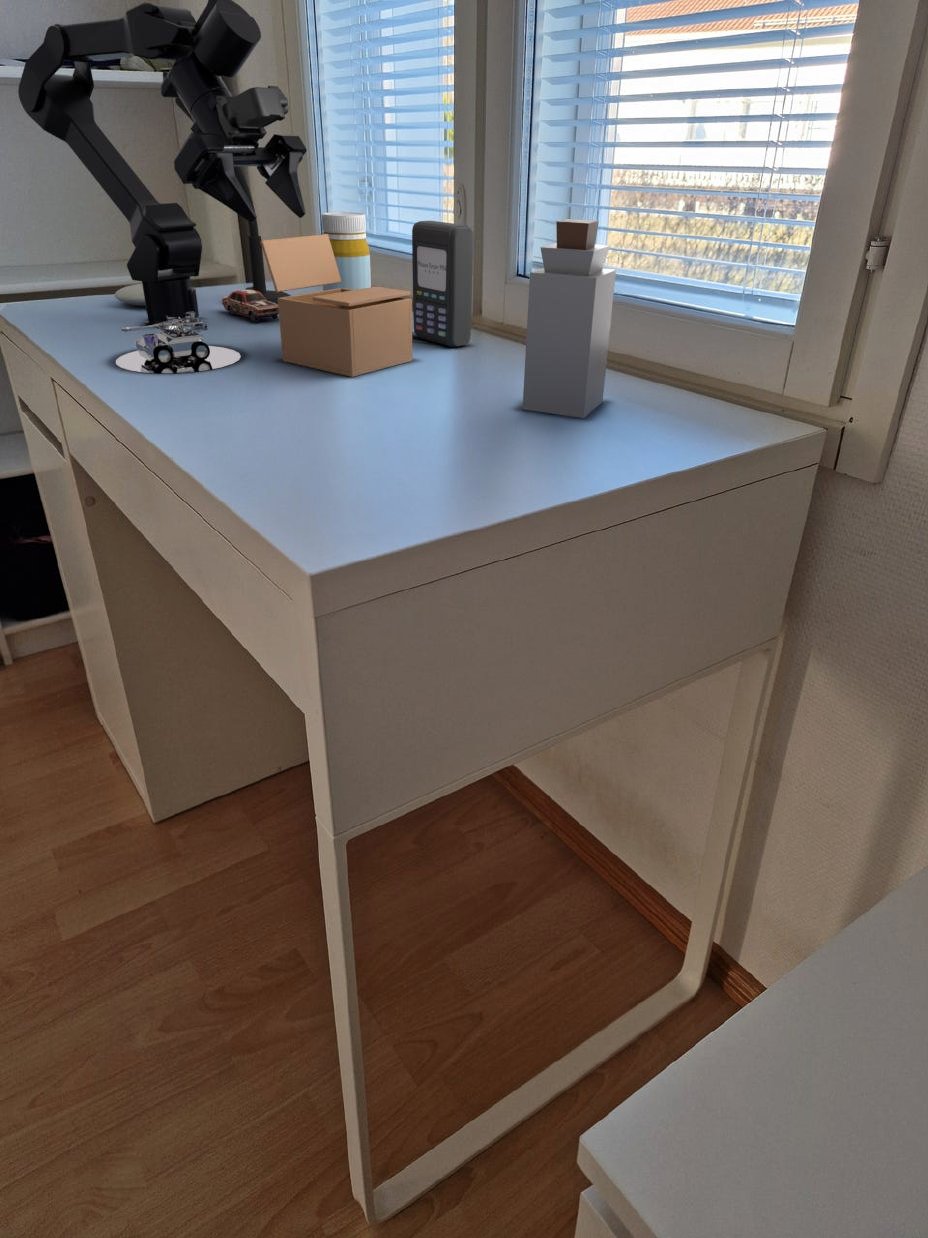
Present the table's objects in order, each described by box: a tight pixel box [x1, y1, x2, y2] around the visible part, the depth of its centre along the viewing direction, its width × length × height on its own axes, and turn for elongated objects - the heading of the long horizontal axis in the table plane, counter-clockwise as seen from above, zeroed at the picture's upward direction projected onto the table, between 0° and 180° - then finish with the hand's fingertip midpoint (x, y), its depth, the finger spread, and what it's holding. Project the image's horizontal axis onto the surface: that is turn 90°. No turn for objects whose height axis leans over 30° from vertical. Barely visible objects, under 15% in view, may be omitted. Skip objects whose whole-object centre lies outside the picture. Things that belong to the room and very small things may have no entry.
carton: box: [278, 286, 413, 378], centre depth 103 cm, size 12×11×8 cm
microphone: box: [174, 98, 292, 305], centre depth 138 cm, size 12×23×30 cm, turn 28°
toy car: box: [115, 309, 241, 374], centre depth 104 cm, size 15×15×5 cm
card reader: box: [411, 220, 475, 348], centre depth 113 cm, size 9×4×15 cm, turn 41°
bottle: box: [321, 211, 372, 291], centre depth 122 cm, size 7×7×15 cm
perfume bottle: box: [522, 218, 617, 419], centre depth 85 cm, size 7×7×18 cm
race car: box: [221, 289, 279, 323], centre depth 128 cm, size 5×12×5 cm, turn 36°
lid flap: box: [260, 234, 341, 292], centre depth 104 cm, size 6×11×1 cm
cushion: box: [114, 283, 146, 307], centre depth 136 cm, size 12×12×3 cm
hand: (279, 217), depth 107 cm, fingers open, 9 cm apart
